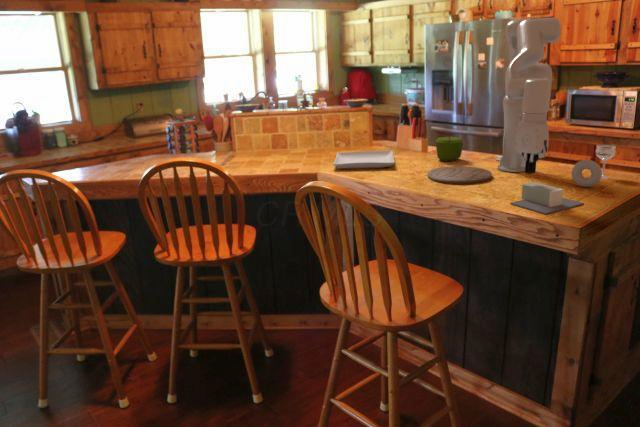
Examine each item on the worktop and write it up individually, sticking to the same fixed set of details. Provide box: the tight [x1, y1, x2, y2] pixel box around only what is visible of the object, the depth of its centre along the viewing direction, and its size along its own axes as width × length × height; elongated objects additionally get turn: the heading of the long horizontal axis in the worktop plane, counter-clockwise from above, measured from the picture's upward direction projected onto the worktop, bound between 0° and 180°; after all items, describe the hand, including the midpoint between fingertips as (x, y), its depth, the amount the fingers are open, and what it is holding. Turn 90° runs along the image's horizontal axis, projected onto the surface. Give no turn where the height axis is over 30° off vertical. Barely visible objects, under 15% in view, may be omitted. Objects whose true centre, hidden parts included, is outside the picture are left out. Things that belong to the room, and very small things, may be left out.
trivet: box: [427, 165, 493, 186], centre depth 214 cm, size 25×25×2 cm
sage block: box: [521, 181, 564, 207], centre depth 175 cm, size 5×5×12 cm
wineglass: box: [595, 144, 617, 180], centre depth 202 cm, size 7×7×12 cm
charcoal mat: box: [509, 197, 584, 215], centre depth 174 cm, size 14×18×1 cm
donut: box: [571, 159, 603, 188], centre depth 191 cm, size 10×4×10 cm, turn 48°
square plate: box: [333, 150, 396, 170], centre depth 246 cm, size 27×27×4 cm
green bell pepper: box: [435, 136, 464, 162], centre depth 244 cm, size 12×12×11 cm
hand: (530, 172), depth 178 cm, fingers closed
